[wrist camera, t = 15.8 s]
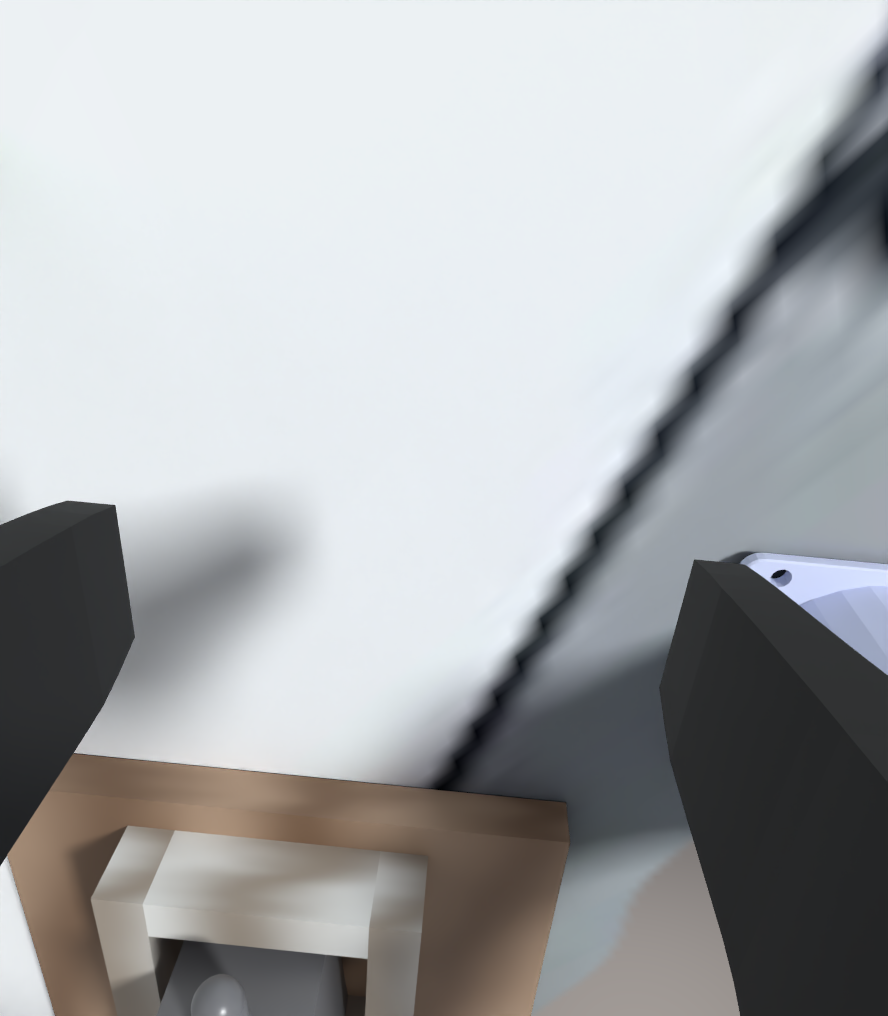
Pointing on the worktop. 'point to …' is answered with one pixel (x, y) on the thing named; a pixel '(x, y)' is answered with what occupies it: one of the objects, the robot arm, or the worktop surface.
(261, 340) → the worktop surface
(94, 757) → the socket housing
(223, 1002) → the plug
